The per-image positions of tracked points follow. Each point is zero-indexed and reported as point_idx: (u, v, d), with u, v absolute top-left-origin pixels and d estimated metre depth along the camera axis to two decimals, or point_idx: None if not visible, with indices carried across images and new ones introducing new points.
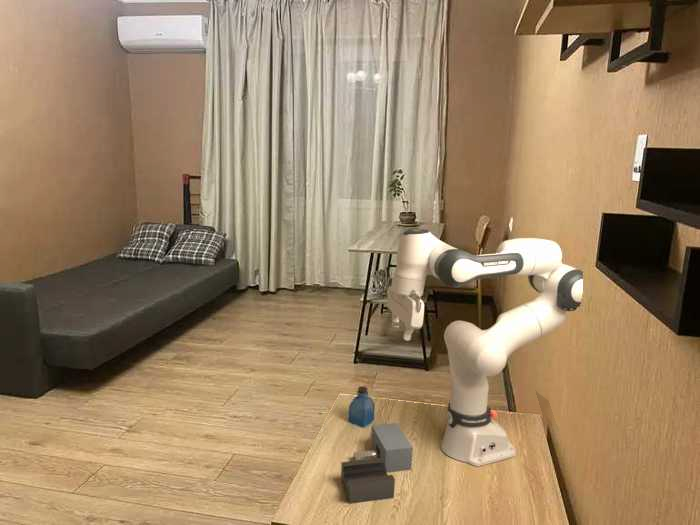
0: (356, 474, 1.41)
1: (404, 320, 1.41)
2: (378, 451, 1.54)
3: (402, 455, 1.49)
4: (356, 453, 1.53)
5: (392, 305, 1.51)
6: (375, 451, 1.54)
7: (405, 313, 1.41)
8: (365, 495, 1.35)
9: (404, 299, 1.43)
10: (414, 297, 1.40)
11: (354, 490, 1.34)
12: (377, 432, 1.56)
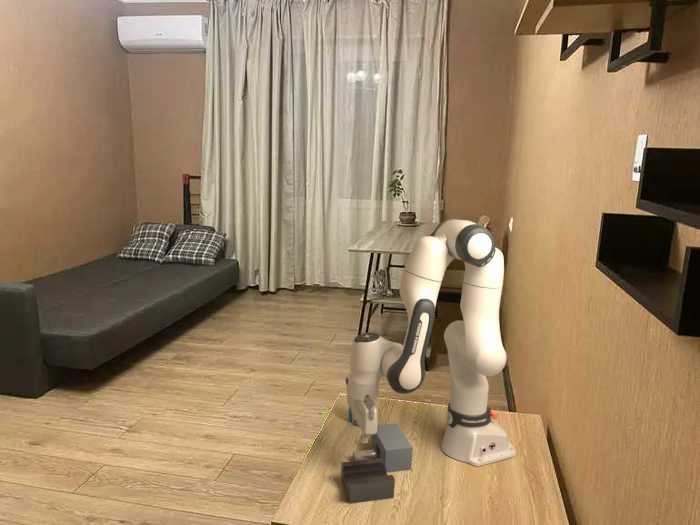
0: (356, 474, 1.41)
1: (360, 425, 1.45)
2: (377, 449, 1.55)
3: (402, 455, 1.49)
4: (355, 452, 1.53)
5: (351, 404, 1.54)
6: (374, 450, 1.55)
7: (360, 418, 1.45)
8: (365, 495, 1.35)
9: (359, 404, 1.46)
10: (367, 403, 1.43)
11: (354, 490, 1.34)
12: (377, 432, 1.56)
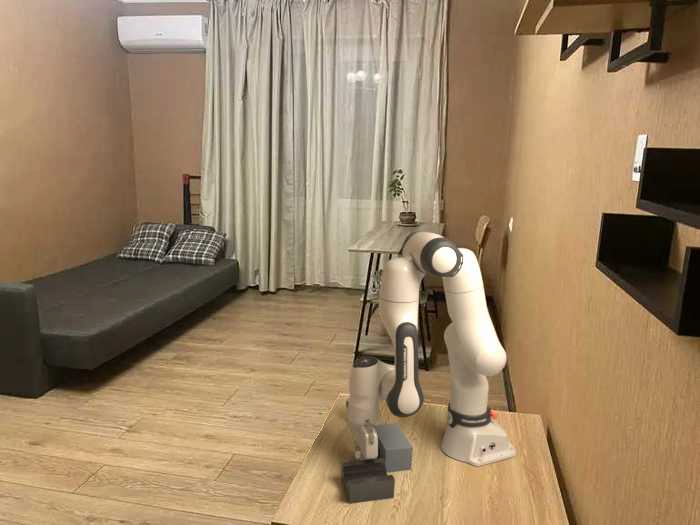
0: (356, 474, 1.41)
1: (361, 449, 1.46)
2: (378, 450, 1.54)
3: (402, 455, 1.49)
4: (356, 452, 1.53)
5: (352, 426, 1.56)
6: None
7: (361, 442, 1.46)
8: (365, 495, 1.35)
9: (359, 428, 1.48)
10: (368, 428, 1.45)
11: (354, 490, 1.34)
12: (377, 432, 1.56)
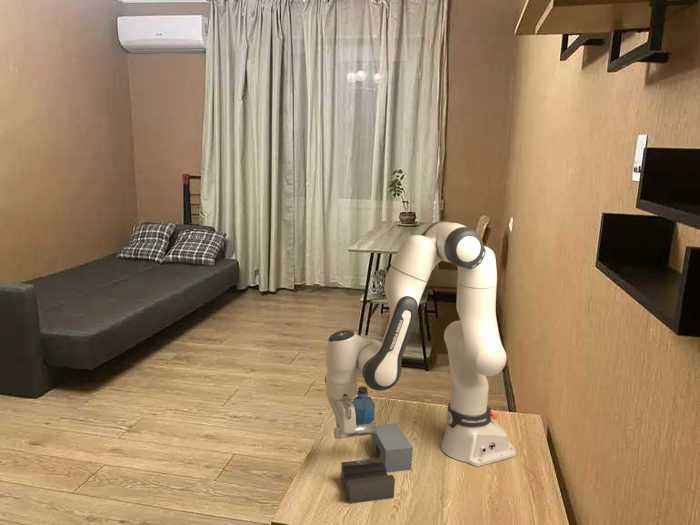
0: (356, 474, 1.41)
1: (339, 424, 1.43)
2: (359, 426, 1.51)
3: (402, 455, 1.49)
4: (336, 428, 1.49)
5: (331, 403, 1.53)
6: (356, 426, 1.51)
7: (339, 417, 1.43)
8: (365, 495, 1.35)
9: (337, 403, 1.44)
10: (345, 402, 1.41)
11: (354, 490, 1.34)
12: (377, 432, 1.56)
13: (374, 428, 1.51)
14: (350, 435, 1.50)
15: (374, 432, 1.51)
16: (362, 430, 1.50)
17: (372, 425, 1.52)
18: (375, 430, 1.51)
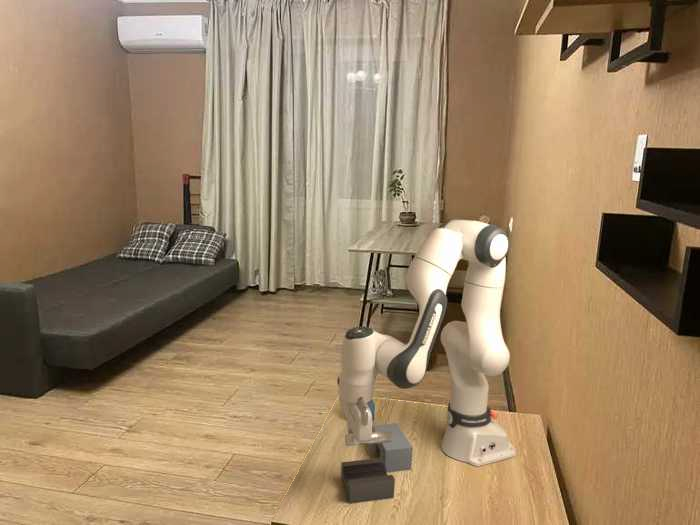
0: (356, 474, 1.41)
1: (353, 430, 1.30)
2: (373, 433, 1.37)
3: (402, 455, 1.49)
4: (348, 435, 1.36)
5: (344, 407, 1.39)
6: None
7: (353, 422, 1.30)
8: (365, 495, 1.35)
9: (352, 406, 1.31)
10: (361, 406, 1.28)
11: (354, 490, 1.34)
12: None
13: (389, 436, 1.38)
14: (363, 442, 1.36)
15: (389, 440, 1.38)
16: (377, 437, 1.37)
17: (387, 432, 1.38)
18: (390, 438, 1.38)
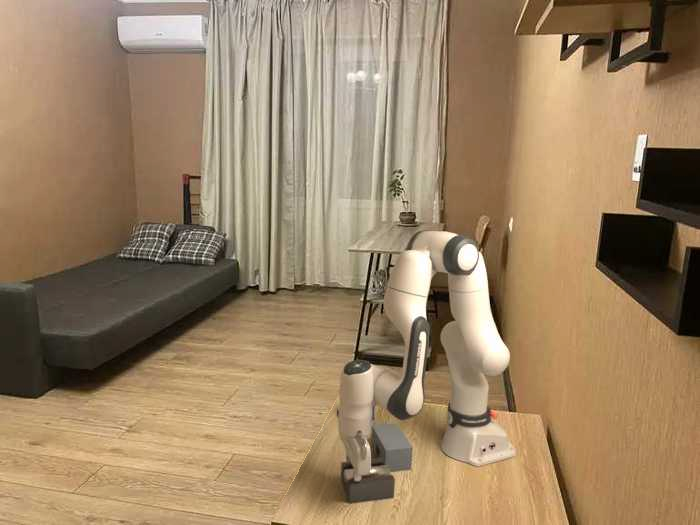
0: None
1: (352, 464, 1.32)
2: (371, 467, 1.40)
3: (402, 455, 1.49)
4: (346, 470, 1.39)
5: (343, 438, 1.41)
6: None
7: (352, 456, 1.32)
8: (365, 495, 1.35)
9: (351, 440, 1.33)
10: (360, 440, 1.30)
11: (354, 490, 1.34)
12: (377, 432, 1.56)
13: (387, 469, 1.41)
14: (362, 477, 1.39)
15: (387, 474, 1.40)
16: (375, 471, 1.40)
17: (384, 466, 1.41)
18: (388, 472, 1.40)
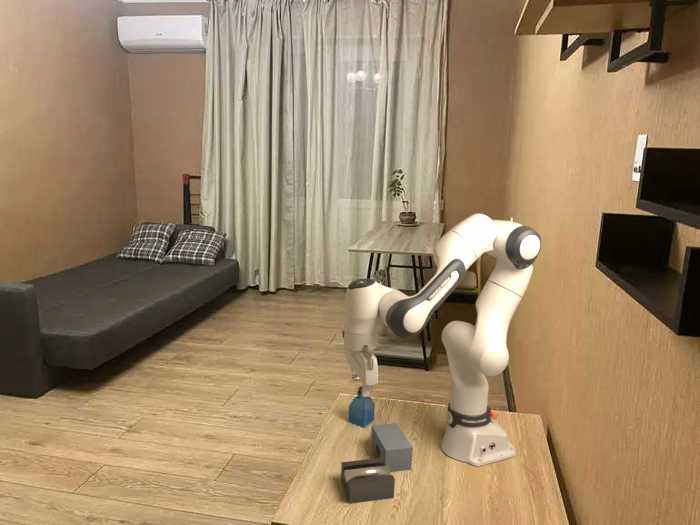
0: None
1: (360, 377, 1.35)
2: (371, 468, 1.40)
3: (402, 455, 1.49)
4: (347, 471, 1.38)
5: (349, 358, 1.45)
6: (368, 468, 1.40)
7: (359, 369, 1.35)
8: (365, 495, 1.35)
9: (357, 355, 1.36)
10: (366, 353, 1.33)
11: (354, 490, 1.34)
12: (377, 432, 1.56)
13: (387, 471, 1.40)
14: None
15: None
16: (375, 473, 1.39)
17: (385, 467, 1.41)
18: (388, 473, 1.40)
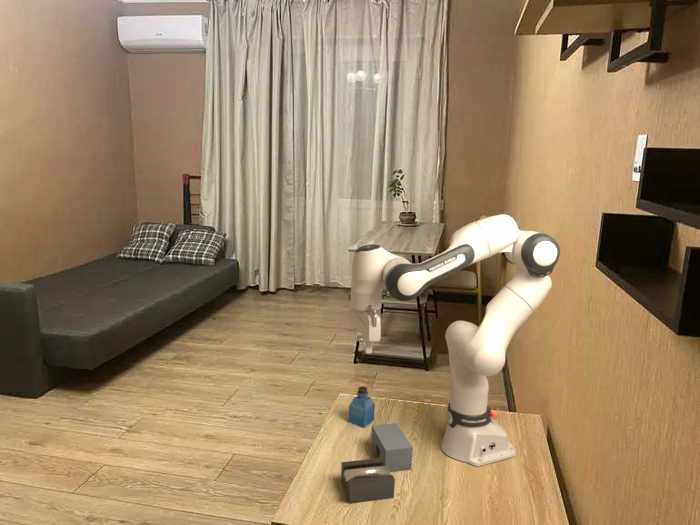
0: None
1: (363, 335, 1.46)
2: (371, 468, 1.40)
3: (402, 455, 1.49)
4: (347, 471, 1.39)
5: (354, 319, 1.55)
6: (368, 468, 1.40)
7: (363, 327, 1.46)
8: (365, 495, 1.35)
9: (362, 314, 1.47)
10: (370, 312, 1.44)
11: (354, 490, 1.34)
12: (377, 432, 1.56)
13: (387, 470, 1.40)
14: None
15: None
16: (375, 472, 1.39)
17: (385, 467, 1.41)
18: (388, 473, 1.40)
